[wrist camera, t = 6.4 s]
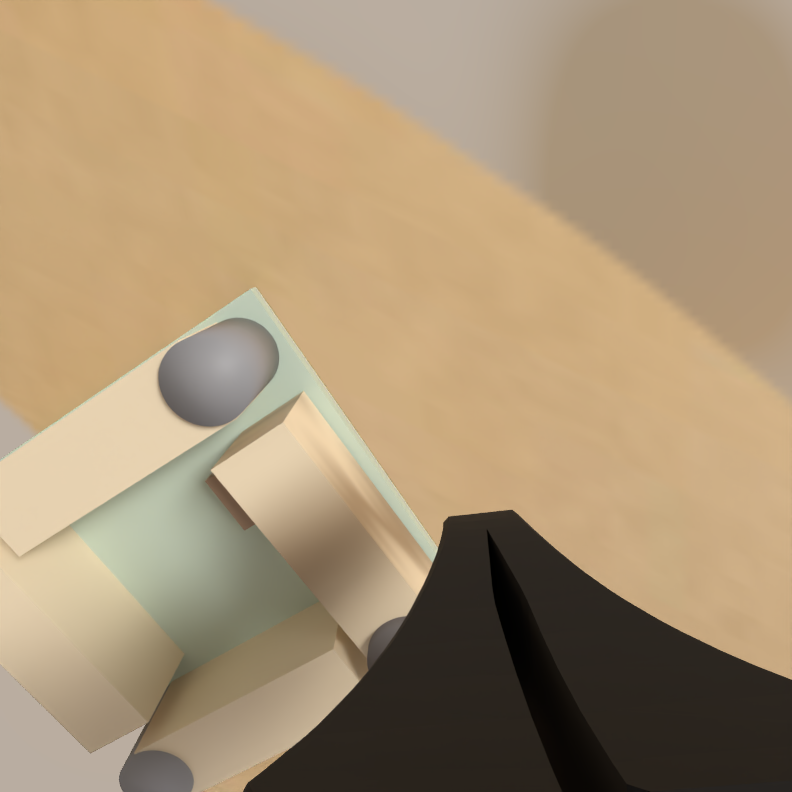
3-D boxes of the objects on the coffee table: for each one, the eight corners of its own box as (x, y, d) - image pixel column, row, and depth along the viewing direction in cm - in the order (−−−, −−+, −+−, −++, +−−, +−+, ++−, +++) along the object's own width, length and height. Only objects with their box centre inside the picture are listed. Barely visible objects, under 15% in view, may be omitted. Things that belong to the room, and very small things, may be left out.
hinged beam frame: (191, 731, 22) (149, 828, 19) (-38, 486, 19) (-141, 545, 16) (466, 589, 20) (479, 667, 16) (255, 286, 17) (214, 301, 13)
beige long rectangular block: (461, 598, 19) (472, 672, 16) (400, 632, 20) (398, 710, 17) (305, 390, 17) (281, 426, 14) (241, 432, 18) (203, 477, 15)
